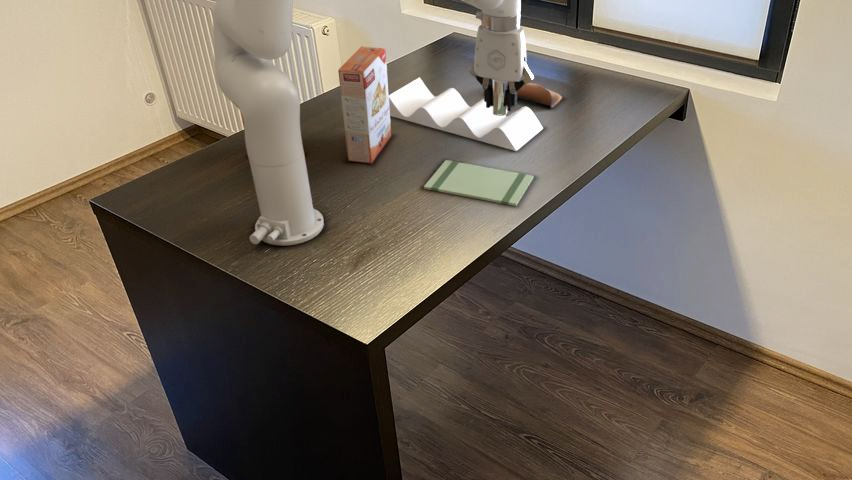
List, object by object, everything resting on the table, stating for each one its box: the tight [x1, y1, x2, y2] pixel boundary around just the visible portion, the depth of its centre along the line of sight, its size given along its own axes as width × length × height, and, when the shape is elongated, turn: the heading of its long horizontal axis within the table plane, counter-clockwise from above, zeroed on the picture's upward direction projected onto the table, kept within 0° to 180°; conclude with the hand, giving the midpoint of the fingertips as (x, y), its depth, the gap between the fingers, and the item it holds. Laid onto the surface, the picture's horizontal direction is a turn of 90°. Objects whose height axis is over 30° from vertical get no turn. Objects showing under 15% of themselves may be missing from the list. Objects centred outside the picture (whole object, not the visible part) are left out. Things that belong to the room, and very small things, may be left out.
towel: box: [423, 159, 535, 207], centre depth 156 cm, size 12×20×1 cm, turn 71°
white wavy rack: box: [389, 77, 544, 152], centre depth 177 cm, size 13×35×5 cm, turn 60°
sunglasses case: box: [517, 80, 563, 109], centre depth 189 cm, size 18×7×7 cm
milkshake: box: [491, 79, 510, 116], centre depth 156 cm, size 5×5×10 cm
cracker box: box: [337, 46, 392, 165], centre depth 161 cm, size 14×6×21 cm, turn 168°
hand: (500, 106), depth 159 cm, fingers closed on milkshake, 4 cm apart
